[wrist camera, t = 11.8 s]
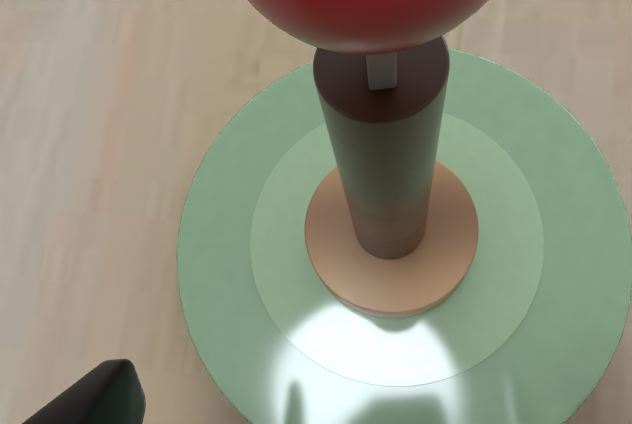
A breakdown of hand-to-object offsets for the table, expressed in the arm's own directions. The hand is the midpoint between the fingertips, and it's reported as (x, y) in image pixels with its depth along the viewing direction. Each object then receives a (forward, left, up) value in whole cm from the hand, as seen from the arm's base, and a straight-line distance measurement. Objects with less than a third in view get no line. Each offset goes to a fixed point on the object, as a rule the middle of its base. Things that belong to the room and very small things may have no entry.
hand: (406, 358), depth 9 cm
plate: (+4, +1, -9) cm, 10 cm away
